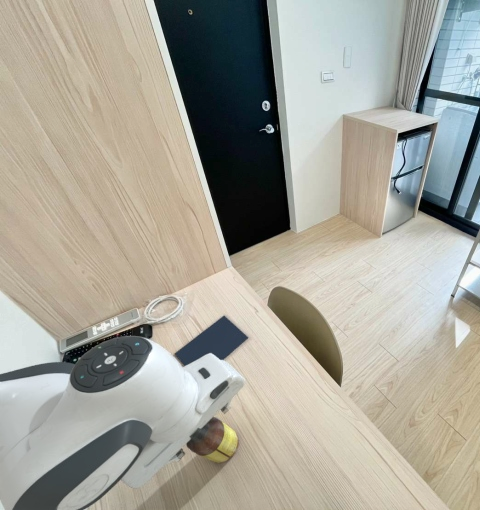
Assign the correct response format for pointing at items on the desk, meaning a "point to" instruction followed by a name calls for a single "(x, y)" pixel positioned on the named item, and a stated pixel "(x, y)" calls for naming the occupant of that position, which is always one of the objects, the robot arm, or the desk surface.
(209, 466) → the desk surface
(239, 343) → the cloth
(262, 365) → the desk surface
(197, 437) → the sauce bottle
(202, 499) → the desk surface
